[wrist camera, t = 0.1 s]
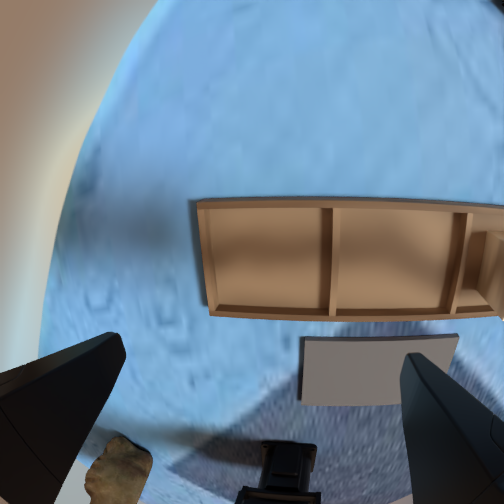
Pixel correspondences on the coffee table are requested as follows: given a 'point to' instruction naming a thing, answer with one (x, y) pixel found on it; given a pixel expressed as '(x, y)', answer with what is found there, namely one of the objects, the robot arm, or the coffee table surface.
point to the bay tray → (344, 258)
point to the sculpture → (118, 473)
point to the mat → (365, 367)
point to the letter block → (493, 272)
